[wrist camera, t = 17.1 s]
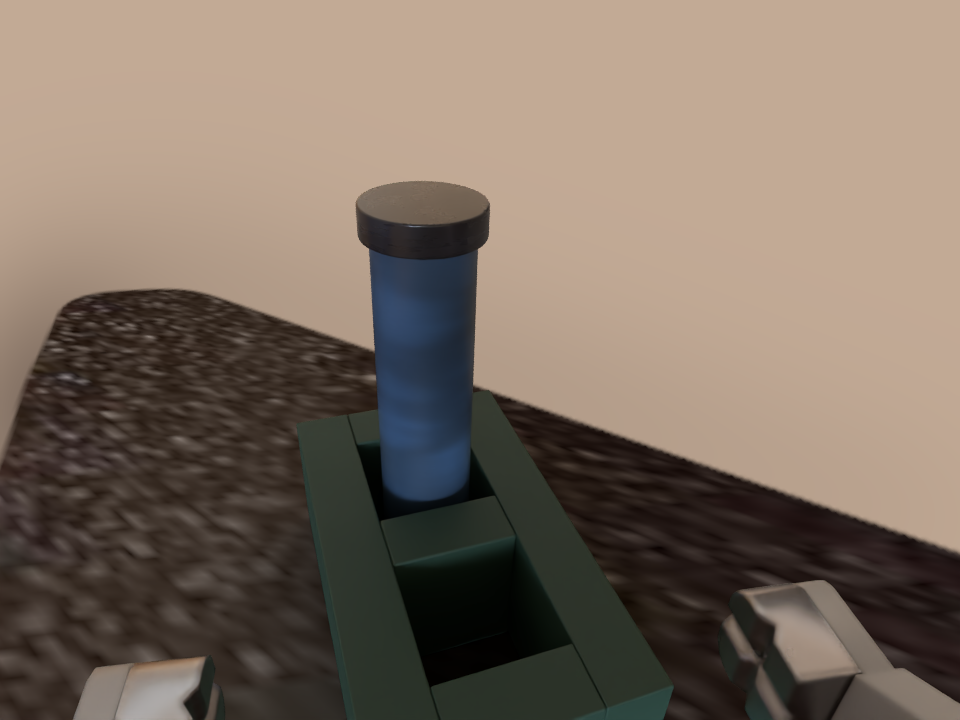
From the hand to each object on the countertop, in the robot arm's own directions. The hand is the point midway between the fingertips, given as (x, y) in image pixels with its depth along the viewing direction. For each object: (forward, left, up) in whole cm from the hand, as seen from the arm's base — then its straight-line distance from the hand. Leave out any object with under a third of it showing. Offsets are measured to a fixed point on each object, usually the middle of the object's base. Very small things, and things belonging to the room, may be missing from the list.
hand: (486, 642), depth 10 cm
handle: (+2, +12, -12) cm, 17 cm away
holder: (+2, +9, -12) cm, 15 cm away
